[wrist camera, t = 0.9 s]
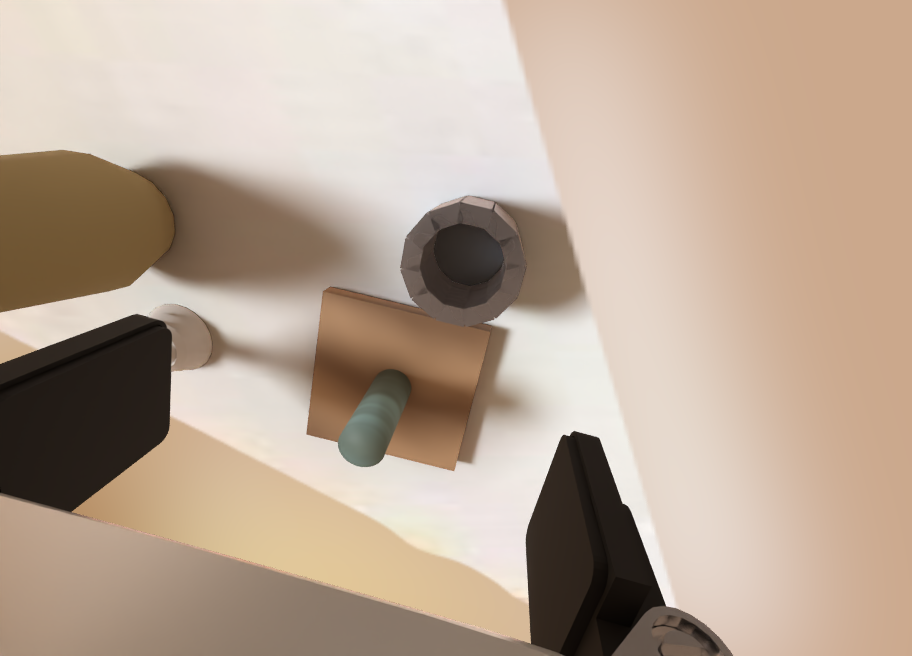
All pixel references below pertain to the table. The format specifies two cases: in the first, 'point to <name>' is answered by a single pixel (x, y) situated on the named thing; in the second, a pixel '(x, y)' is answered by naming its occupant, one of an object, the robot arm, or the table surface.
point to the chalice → (185, 336)
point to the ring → (456, 298)
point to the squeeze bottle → (75, 227)
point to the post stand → (392, 380)
